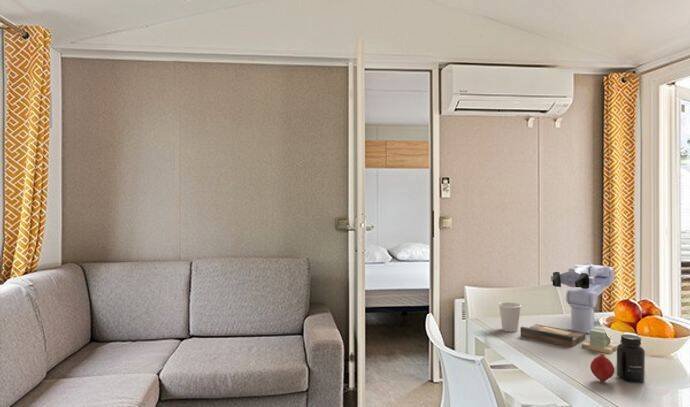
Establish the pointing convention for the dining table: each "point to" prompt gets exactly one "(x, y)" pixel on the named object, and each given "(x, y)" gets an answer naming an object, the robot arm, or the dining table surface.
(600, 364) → the onion
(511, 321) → the dixie cup
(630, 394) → the dining table surface
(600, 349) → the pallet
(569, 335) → the dock
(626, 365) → the supplement bottle
